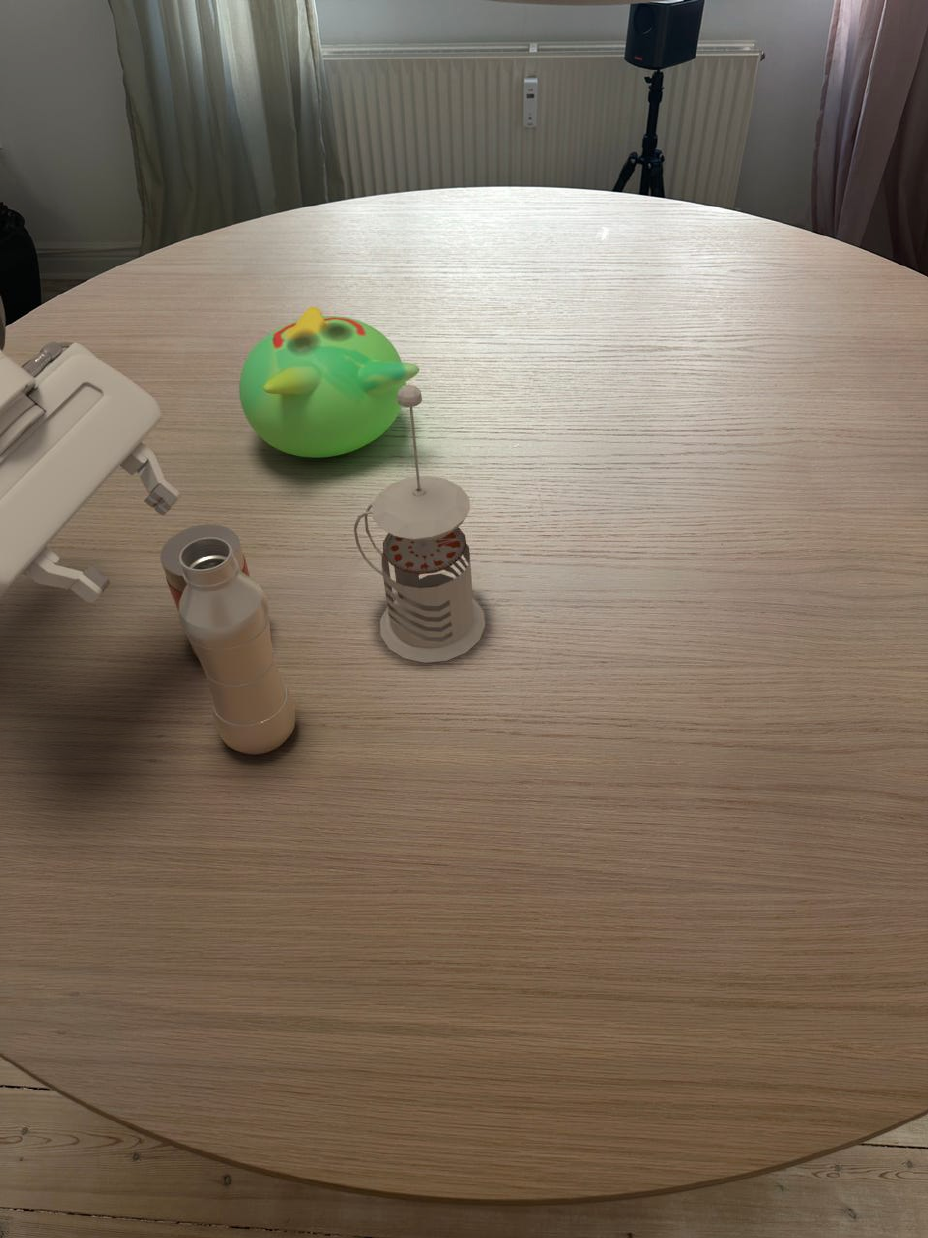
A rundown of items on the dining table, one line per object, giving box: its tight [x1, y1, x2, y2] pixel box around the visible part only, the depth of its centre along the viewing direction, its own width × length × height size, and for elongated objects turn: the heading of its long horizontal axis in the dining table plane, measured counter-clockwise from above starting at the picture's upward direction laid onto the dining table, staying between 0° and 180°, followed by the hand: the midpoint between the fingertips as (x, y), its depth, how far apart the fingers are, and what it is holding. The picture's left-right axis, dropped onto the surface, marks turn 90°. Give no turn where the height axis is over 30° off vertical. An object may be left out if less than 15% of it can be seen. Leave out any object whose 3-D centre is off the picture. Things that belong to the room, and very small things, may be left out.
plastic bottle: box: [177, 537, 296, 755], centre depth 75 cm, size 6×7×20 cm
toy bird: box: [238, 306, 420, 459], centre depth 106 cm, size 18×17×15 cm
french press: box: [353, 384, 486, 664], centre depth 82 cm, size 10×12×25 cm
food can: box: [159, 523, 251, 660], centre depth 86 cm, size 7×7×11 cm
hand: (138, 547), depth 70 cm, fingers open, 8 cm apart
